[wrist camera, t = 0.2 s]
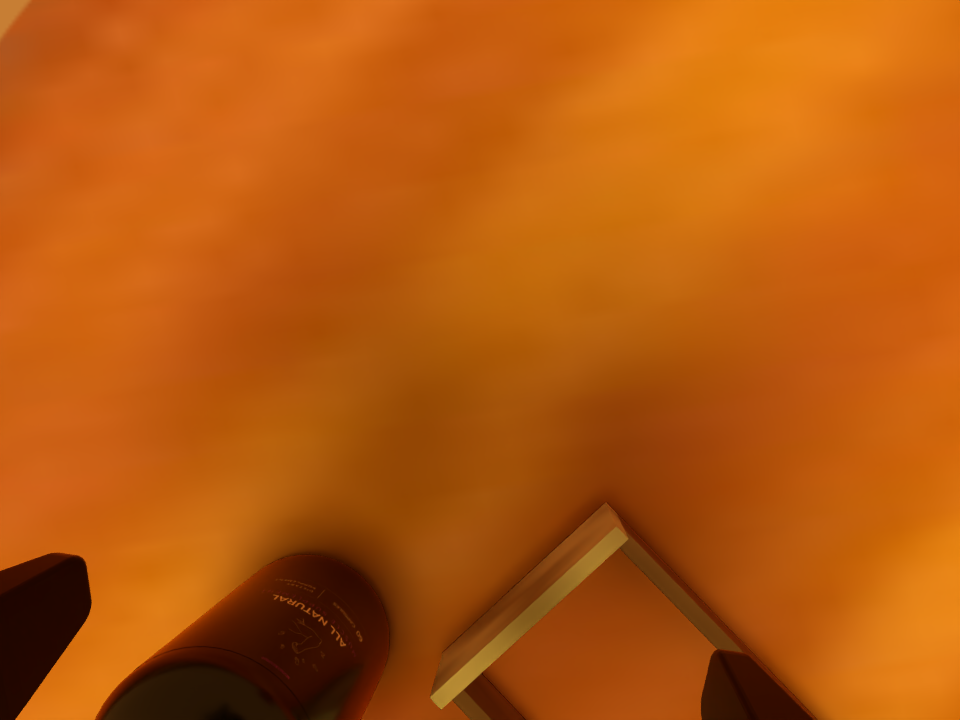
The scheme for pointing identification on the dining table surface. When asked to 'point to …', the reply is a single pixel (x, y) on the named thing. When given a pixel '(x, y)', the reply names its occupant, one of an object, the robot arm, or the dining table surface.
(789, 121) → the dining table surface
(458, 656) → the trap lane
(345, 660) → the supplement bottle
